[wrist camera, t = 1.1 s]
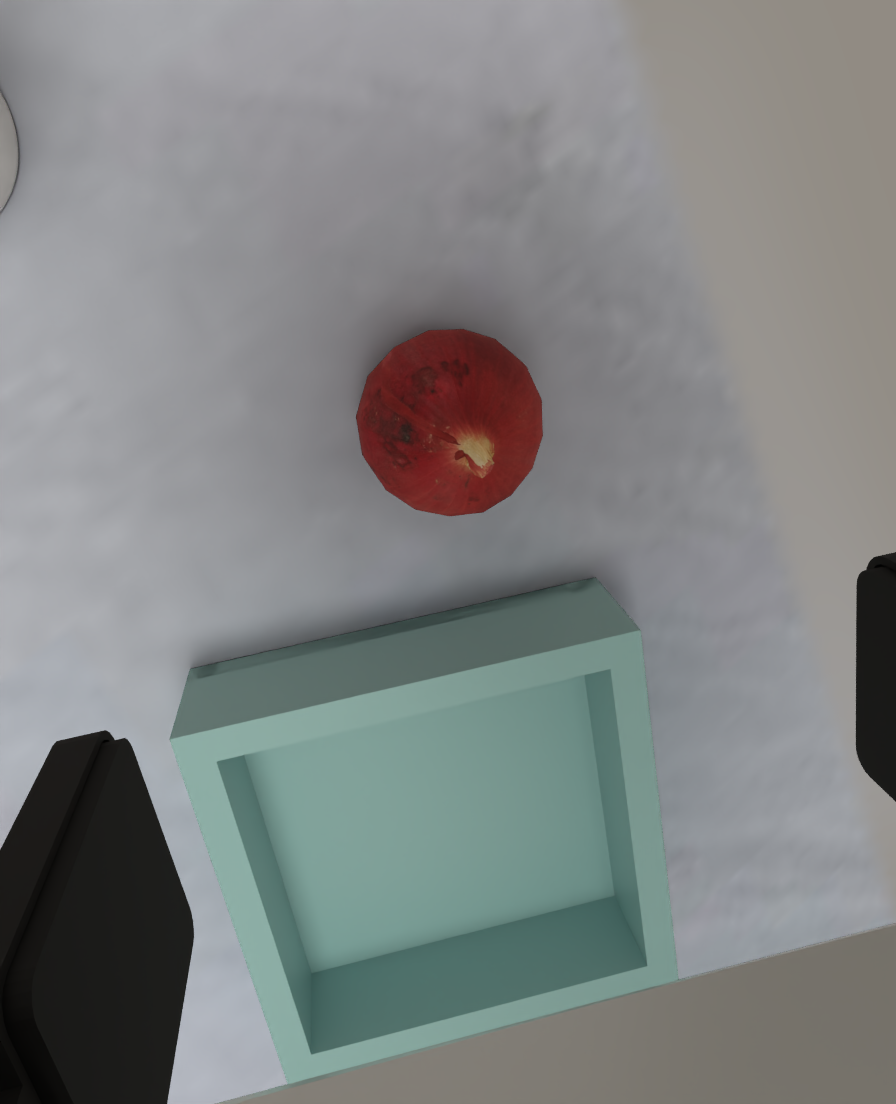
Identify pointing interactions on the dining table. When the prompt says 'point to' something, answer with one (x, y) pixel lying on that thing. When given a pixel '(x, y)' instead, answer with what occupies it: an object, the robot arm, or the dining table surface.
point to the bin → (434, 823)
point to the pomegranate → (450, 422)
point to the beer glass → (7, 153)
